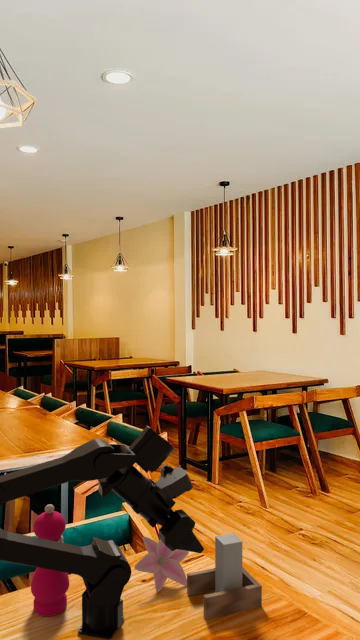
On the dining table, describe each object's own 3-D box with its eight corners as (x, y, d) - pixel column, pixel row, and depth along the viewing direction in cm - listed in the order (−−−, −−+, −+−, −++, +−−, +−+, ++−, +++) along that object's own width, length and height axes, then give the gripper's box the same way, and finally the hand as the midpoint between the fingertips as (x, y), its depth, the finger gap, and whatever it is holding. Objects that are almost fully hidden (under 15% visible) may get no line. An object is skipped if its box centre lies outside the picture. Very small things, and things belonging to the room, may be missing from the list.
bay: (205, 619, 97) (205, 598, 97) (187, 593, 106) (187, 573, 106) (261, 606, 101) (261, 586, 101) (239, 582, 110) (239, 563, 110)
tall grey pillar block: (223, 606, 102) (223, 544, 101) (215, 595, 105) (215, 536, 105) (242, 601, 103) (242, 541, 103) (233, 591, 107) (233, 533, 106)
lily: (124, 595, 107) (138, 564, 103) (131, 548, 118) (143, 518, 114) (180, 609, 109) (195, 579, 105) (181, 562, 119) (195, 532, 115)
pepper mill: (74, 597, 104) (73, 498, 104) (62, 619, 97) (61, 512, 97) (39, 595, 105) (38, 497, 105) (24, 617, 98) (23, 511, 97)
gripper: (184, 471, 90) (241, 525, 94) (151, 444, 107) (201, 491, 112) (140, 524, 87) (201, 577, 92) (114, 487, 105) (166, 533, 109)
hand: (192, 540), depth 101 cm, fingers open, 9 cm apart
